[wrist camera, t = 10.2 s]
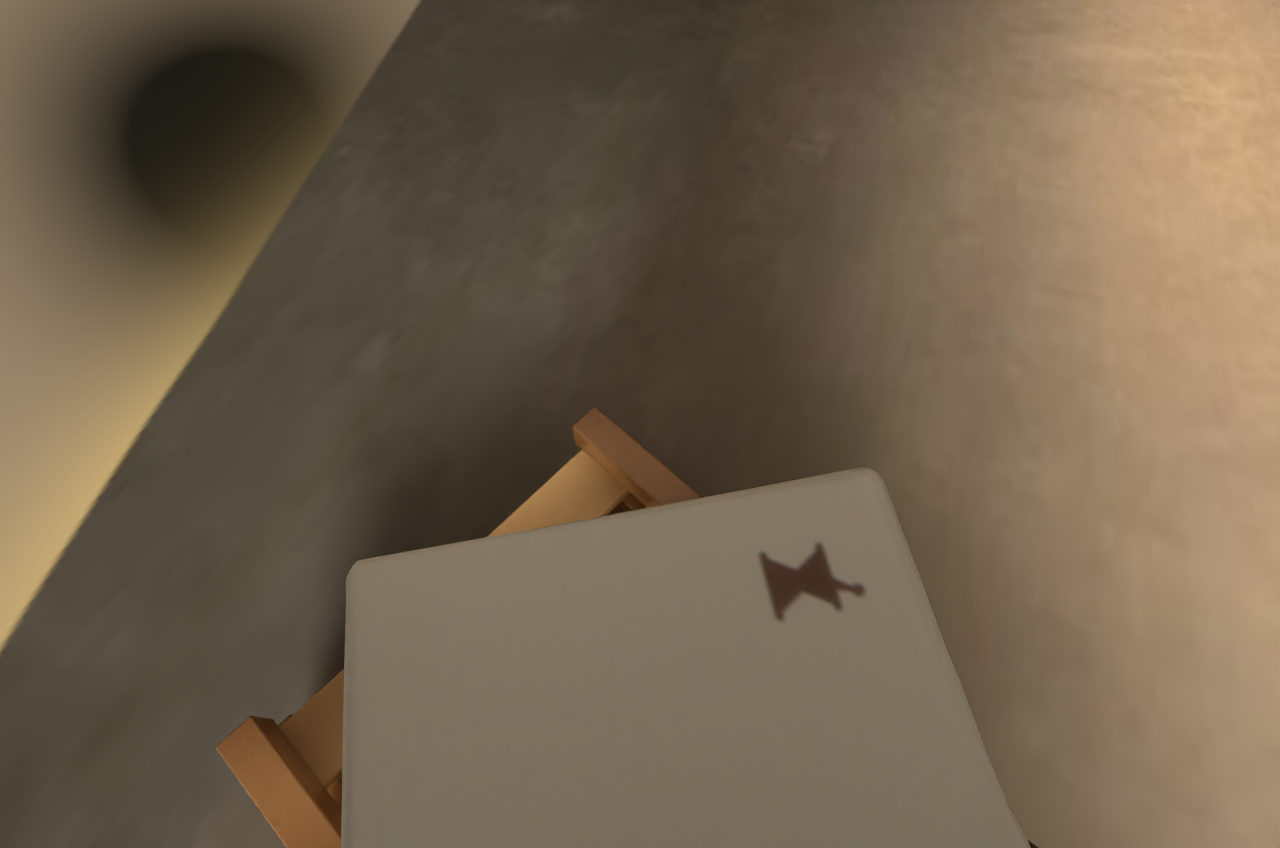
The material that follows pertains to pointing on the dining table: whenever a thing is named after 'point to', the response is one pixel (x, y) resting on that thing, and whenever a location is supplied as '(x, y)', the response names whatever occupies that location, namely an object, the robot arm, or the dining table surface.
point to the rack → (313, 737)
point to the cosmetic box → (665, 685)
